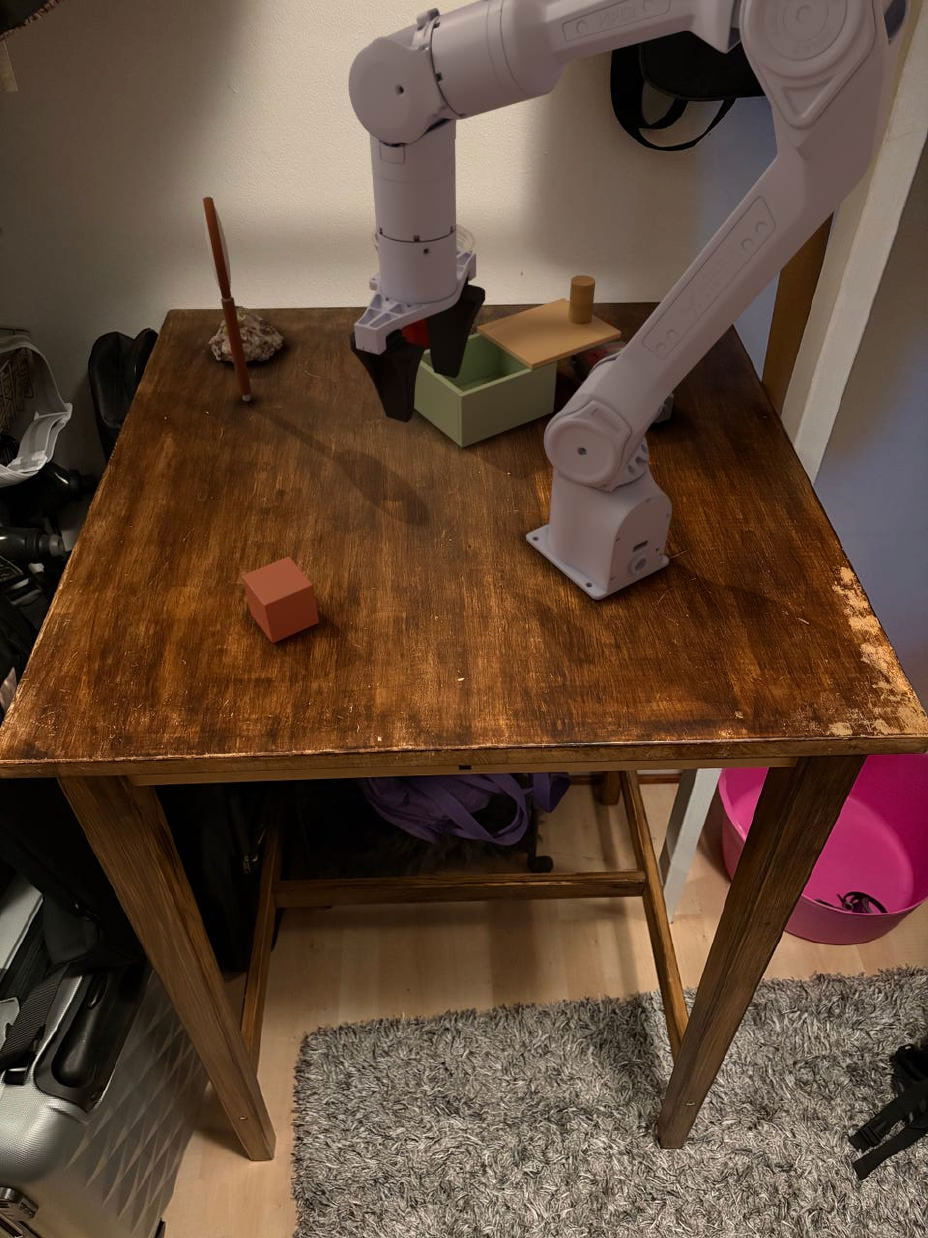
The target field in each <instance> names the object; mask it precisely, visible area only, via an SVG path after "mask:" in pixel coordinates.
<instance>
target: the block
mask: <svg viewBox="0 0 928 1238" xmlns="http://www.w3.org/2000/svg"><path fill="white" fill-rule="evenodd" d="M241 579H242V583H243V587H244V591H245V596H246V600H247V604H248V608H249V612H250V615H251V616H252V618H254V620H255V622H256V623H257V624H258V625H259V627H260V628H261V630H262V631H263V633H265V635H266V636H267V638H268V639H269V640H270V641H271V644H275V643H277V642H280V641H281V640H283V639H286V638H288V637H290V636H293V635H294V634H297V633H299V632H302V631H303V630H306V629H308V628H310V627H312V626H314V625H317V624H319V623H320V618H319V613H318V606H317V600H316V594H315V588H314V584H313V583H312V582H311V581H310V580H309V578H308V577H307V575H305V573H304V572H303V571H302V570H301V568H300V567H299V566H298V565H297V564H296V563H295V561H294V560H293V559H292V558H291V557H290V556H287V557H284V558H282V559H281V558H280V559H279V560H277V561H274V562H271V563H268V564H267V565H265V566H262V567H260V568H256V569H254V570H253V571H250V572H247V573H245V574H242V576H241Z"/></svg>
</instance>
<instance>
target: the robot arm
mask: <svg viewBox="0 0 928 1238" xmlns="http://www.w3.org/2000/svg"><path fill="white" fill-rule="evenodd" d="M911 8H912V1H911V0H476V1H474V2H472V3H469V4H465V5H464V6H461V7H458V8H455V9H453V10H450V11H447V12H445V13H442V14H441V13H440V10H439V9H438V7H433V8H430V9H428V10H426V11H424V12H421V13H418V14H417V15H416V19H415V20H416V23H413V24H411V25H409V26H407V27H404V28H401V29H399V30H397V31H395V32H393V33H391V34H388V35H386V36H385V35H383V36H378V37H375V38H374V39H373V41H372V42H371V43H369V44H368V45H367V46H365V47H364V48H362V49H360V51H358V53H357V55H356V56H355V57H354V59H353V61H352V63H351V66H350V69H349V74H348V96H349V100H350V104H351V107H352V109H353V112H354V114H355V116H356V118H357V120H358V121H359V123H360V125H362V127H363V128H364V129H365V130H366V131H367V132H368V134H369V146H370V147H369V148H370V160H371V162H370V163H371V173H372V187H373V199H374V201H373V202H374V216H375V228H376V229H377V243H378V251H377V257H378V269H379V270H378V271H379V272H377V273H376V274H374V275H372V277H370V278H369V280H368V285H369V286H368V288H369V289H370V290H371V291H374V293H373V296H372V297H371V300H370V301H369V304H368V305H367V307H366V310H365V311H364V313H363V315H362V316H361V317H360V318H359V319H358V320H357V321H356V322H355V323H353V327H354V331H353V332H351V334H349V346H350V347H349V348H350V351H351V352H353V354H354V355H355V356H356V357H357V360H359V362H360V363H361V365H363V367H364V369H365V370H366V372H367V373H368V375H369V377H370V379H371V381H372V383H373V385H374V387H375V390H376V392H377V395H378V397H379V401H380V403H381V407H382V409H383V411H384V413H385V416H386V418H389V419H393V420H395V421H399V422H402V423H405V424H406V423H409V422H410V421H411V420H412V419H413V416H414V411H415V408H414V402H415V383H416V377H417V372H418V368H419V365H420V362H421V359H422V356H423V354H424V352H425V350H426V347H425V346H421V345H417V344H413V343H410V342H407V337H406V336H404V337H403V335H402V330H401V329H402V328H403V327H404V326H406V325H409V324H411V323H414V322H416V321H419V320H421V319H425V323H426V327H427V332H428V339H429V348H430V356H431V363H432V367H433V370H434V373H437V374H440V375H444V376H447V377H451V378H454V379H455V378H456V377H457V376H458V375H459V372H460V369H461V365H462V361H463V357H464V352H465V348H466V344H467V341H468V337H469V336H470V335H471V334H470V333H471V331H472V327H473V325H474V324H475V323H474V322H475V320H476V318H477V316H478V314H479V312H480V310H481V308H482V306H483V304H484V303H485V302H486V289H484V287H481V286H479V285H478V286H477V285H475V284H469V282H472V281H473V280H474V279H475V278H476V277H477V253H475V252H472V253H471V252H467V251H463V250H458V249H457V240H456V224H457V184H456V183H457V180H456V179H457V175H456V172H457V171H456V170H457V169H456V168H457V167H456V165H457V164H456V163H457V162H456V140H457V121H460V120H461V121H462V120H466V119H469V118H471V117H476V116H479V115H482V114H485V113H489V112H493V111H496V110H498V109H502V108H506V107H509V106H512V105H516V104H519V103H523V102H526V101H530V100H533V99H536V98H539V97H543V96H546V95H549V94H550V93H552V92H553V90H554V89H555V88H556V87H557V84H558V82H559V80H560V78H561V77H562V74H563V72H564V70H565V68H566V65H567V64H568V63H570V62H573V61H577V60H581V59H585V58H587V57H593V56H595V55H599V54H603V53H606V52H610V51H614V50H618V49H622V48H625V47H629V46H633V45H636V44H640V43H644V42H647V41H651V40H654V39H658V38H662V37H665V36H669V35H674V34H677V33H681V32H687V31H688V32H692V33H693V34H694V35H695V36H696V37H698V38H700V39H701V40H703V41H704V42H705V43H707V44H708V45H710V46H711V47H713V48H714V49H716V50H717V51H719V52H720V53H723V54H727V53H729V52H730V51H731V50H732V49H733V48H734V47H735V46H736V45H738V44H739V43H741V44H742V48H743V51H744V54H745V56H746V58H747V61H748V63H749V65H750V67H751V69H752V71H753V73H754V75H755V77H756V79H757V81H758V83H759V85H760V86H761V89H762V91H763V92H764V94H765V96H766V98H767V100H768V102H769V104H770V106H771V114H772V118H773V119H772V121H773V128H774V134H775V135H774V136H775V141H776V149H777V152H776V153H777V154H776V156H775V158H774V159H773V160H772V162H770V164H769V165H768V166H767V168H766V169H765V170H764V172H763V173H762V174H761V176H760V177H759V178H758V179H757V180H756V182H755V183H754V184H753V186H752V187H751V188H750V190H749V191H748V192H747V193H746V194H745V196H744V197H743V198H742V199H741V200H740V202H739V203H738V205H737V206H735V208H734V209H733V210H732V211H731V213H730V215H729V216H728V217H727V218H726V219H725V221H724V222H723V224H722V225H720V227H719V229H718V230H717V231H716V232H715V233H714V235H713V236H712V238H711V239H710V240H709V241H708V242H707V243H706V245H705V246H704V247H703V249H702V250H700V252H699V254H698V255H697V256H696V257H695V259H694V260H693V261H692V263H691V264H690V265H689V266H688V268H687V269H686V270H685V271H684V273H683V274H682V275H681V277H680V278H679V279H678V280H677V281H676V283H675V284H674V285H673V287H672V288H671V289H670V290H669V291H668V293H667V294H666V295H665V296H664V298H663V299H662V300H661V302H660V303H659V304H658V305H657V306H656V308H655V309H654V311H652V312H651V314H650V315H649V317H648V318H647V319H646V320H645V322H644V323H643V324H642V326H640V328H639V329H638V331H637V332H636V333H635V334H634V335H633V336H632V338H631V339H630V340H629V342H628V343H627V345H626V346H625V348H624V349H622V350H621V351H620V352H618V353H616V354H614V355H611V356H608V357H606V358H604V359H602V360H600V361H599V362H598V363H597V364H596V365H595V366H594V367H593V368H592V370H591V371H590V372H589V375H588V378H587V379H586V380H585V382H584V383H583V384H582V385H581V384H580V387H579V388H578V389H577V390H576V392H574V394H573V395H572V396H571V398H570V399H569V400H568V401H567V403H566V404H565V405H564V406H563V408H562V409H561V410H560V411H558V412H557V413H556V414H555V415H554V416H553V417H552V418H551V419H550V420H549V422H548V423H547V425H546V427H545V429H544V430H545V431H544V435H543V446H544V452H545V454H546V457H547V459H548V461H549V462H550V464H551V466H552V467H553V468H552V469H553V470H552V481H551V482H552V483H551V493H550V495H551V496H550V509H549V522H548V523H547V524H545V525H543V526H541V527H539V528H536V529H534V530H532V531H530V532H528V533H527V534H526V535H525V540H526V542H528V543H529V544H530V545H531V546H532V547H533V548H535V550H537V551H538V552H539V553H541V555H543V557H545V558H546V559H547V560H548V561H549V562H551V564H553V565H554V566H555V567H556V568H558V569H559V571H561V572H562V573H563V574H564V575H565V576H566V577H568V578H569V579H570V580H571V581H572V582H573V583H575V585H577V586H578V587H579V588H580V589H582V591H584V592H585V593H586V594H587V595H588V596H589V597H591V599H594V600H597V601H598V600H599V601H600V600H602V599H604V598H606V597H608V596H610V595H612V594H614V593H615V592H618V591H620V590H621V589H624V588H626V587H628V586H630V585H631V584H633V583H635V582H638V581H639V580H641V579H643V578H645V577H647V576H650V575H651V574H653V573H655V572H657V571H659V570H661V569H663V568H665V567H667V566H668V565H669V562H670V559H669V557H667V555H665V549H666V545H667V540H668V534H669V530H670V524H671V521H672V520H671V519H672V514H673V504H672V501H671V499H670V497H669V496H668V495H667V494H666V493H665V492H664V490H662V489H661V488H660V486H659V485H658V484H657V483H656V481H655V479H654V477H653V475H652V473H651V470H650V466H649V459H650V455H649V446H648V443H647V438H646V436H645V435H646V432H648V430H649V428H650V426H651V425H652V424H653V422H654V420H655V419H656V418H657V417H658V415H659V414H660V412H661V410H662V408H663V405H664V401H665V400H666V398H667V397H668V396H669V394H670V393H671V392H672V393H673V391H674V390H675V389H676V388H677V387H678V385H679V384H681V382H682V381H683V380H684V379H685V378H686V377H687V375H689V373H690V372H691V371H692V370H693V369H694V368H695V367H696V365H697V364H698V363H699V362H700V361H701V360H702V358H704V356H706V354H707V353H708V352H709V351H710V350H711V348H712V347H714V345H715V344H717V342H718V341H719V339H721V337H722V336H723V335H724V334H725V333H726V332H727V331H728V330H729V329H730V327H732V325H733V324H734V323H735V322H736V321H737V320H738V318H739V317H740V316H741V315H742V314H743V313H744V312H745V311H746V309H748V307H750V305H751V304H752V303H753V302H754V301H755V300H756V299H757V297H758V296H760V294H761V293H763V291H764V290H765V288H766V287H767V286H768V285H769V284H770V283H771V282H772V281H773V279H774V278H775V277H776V276H777V275H778V274H779V273H780V272H781V271H782V270H783V268H784V267H785V266H786V265H787V264H788V263H789V262H790V261H791V260H792V258H793V257H794V256H796V254H797V253H798V252H799V250H801V248H802V247H803V246H805V243H807V241H808V240H810V238H811V237H812V236H813V235H814V234H815V233H816V231H817V230H818V229H819V228H821V226H822V225H823V224H824V223H825V221H826V220H827V219H828V218H829V217H830V216H831V215H832V214H833V213H834V212H835V210H837V208H838V207H839V206H840V205H841V204H842V202H844V200H845V199H846V198H847V197H848V196H849V195H850V194H851V192H853V190H854V189H855V188H856V187H857V186H858V185H859V184H860V182H861V181H862V180H863V179H864V177H865V175H866V173H867V172H868V171H869V169H870V167H871V165H872V164H873V162H874V160H875V158H876V157H877V154H878V152H879V149H880V146H881V142H882V138H883V133H884V129H885V123H886V119H887V114H888V109H889V106H890V105H889V104H890V100H891V99H890V98H891V94H892V90H893V85H894V80H895V76H896V70H897V67H898V66H897V65H898V60H899V56H900V52H901V46H902V42H903V39H904V35H905V33H906V29H907V28H906V27H907V24H908V20H909V17H910V13H911Z"/></svg>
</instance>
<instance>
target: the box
mask: <svg viewBox="0 0 928 1238" xmlns="http://www.w3.org/2000/svg"><path fill="white" fill-rule="evenodd" d="M557 366H558V360H557V361H554V362H551V363H549V364H546V365H543V366H540V367H538V368H535V369H530V368H529V367H528V366H526V365H525V364H523V363H522V362H520V361H519V360H517V359H516V358H514V357H513V356H512V355H510V354H509V353H507V352H506V351H504V350H503V349H501V348H500V347H498V346H497V345H496V344H494V343H493V342H491V341H490V340H488V339H487V338H485V337H484V336H482V335H481V334H480V333H478V332H476V333H473V334H469V337H468V341H467V344H466V348H465V352H464V357H463V361H462V365H461V369H460V372H459V375H458V376H457V377H456V378H455V379H454V378H451V377H447V376H444V375H440V374H437V373H434V370H433V367H432V363H431V356H430V349H428V350H425V352H424V354H423V356H422V359H421V362H420V365H419V368H418V372H417V377H416V383H415V402H414V410H416V411H417V412H418V413H419V414H421V415H422V416H423V417H424V418H425V419H426V420H428V421H429V422H430V423H432V424H433V425H434V426H435V427H436V428H437V429H439V430H440V431H441V432H442V433H443V434H445V435H446V436H447V437H448V438H450V439H451V440H452V441H453V442H454V443H456V444H457V445H458V446H459V447H460V448H462V449H463V448H465V447H468V446H471V445H473V444H475V443H478V442H480V441H483V440H485V439H488V438H491V437H494V436H496V435H498V434H501V433H503V432H506V431H508V430H509V431H510V430H511V429H514V428H517V427H518V426H522V425H524V424H526V423H529V422H531V421H534V420H536V419H539V418H542V417H544V416H548V415H549V414H552V413H554V408H555V395H556V383H557V369H558V368H557Z"/></svg>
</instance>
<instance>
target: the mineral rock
mask: <svg viewBox="0 0 928 1238" xmlns="http://www.w3.org/2000/svg"><path fill="white" fill-rule="evenodd" d="M235 308H236V313H237V318H238V323H239V329H240V334H241V339H242V344H243V350H244V355H245V360H246V363H247V362H252V361H259V362H264V361H267V360H269V359H270V357H272V356H273V355H274V354H275V353H276V351H279V350H280V349H282V346H283V343H282V342H283V341H284V340H285V337H284V336H282V335H281V334H280V332H278V329H277V328H275V326H273V325H272V324H271V323H270V322H268V321H266V320H265V319H264V318H262V317H260V316H259V315H257V314H255V313H254V312H253V311H252V310H251V309H250V308H248V307H243V306H242V305H235ZM207 344H209V347H210V348H211V352H213V356H215V359H216V360H217V361H219V362H221V361H224V362H227V361H229V362H231V363H234V362H233V357H232V352H231V347H230V342H229V337H228V332H227V327H226V322H225V317H223V319H222V320H221V323H220V326H219V329H218V330H217V333H216V334H215V335H213V336H212V337H211V338H210V339H209V340H208V342H207Z"/></svg>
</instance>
